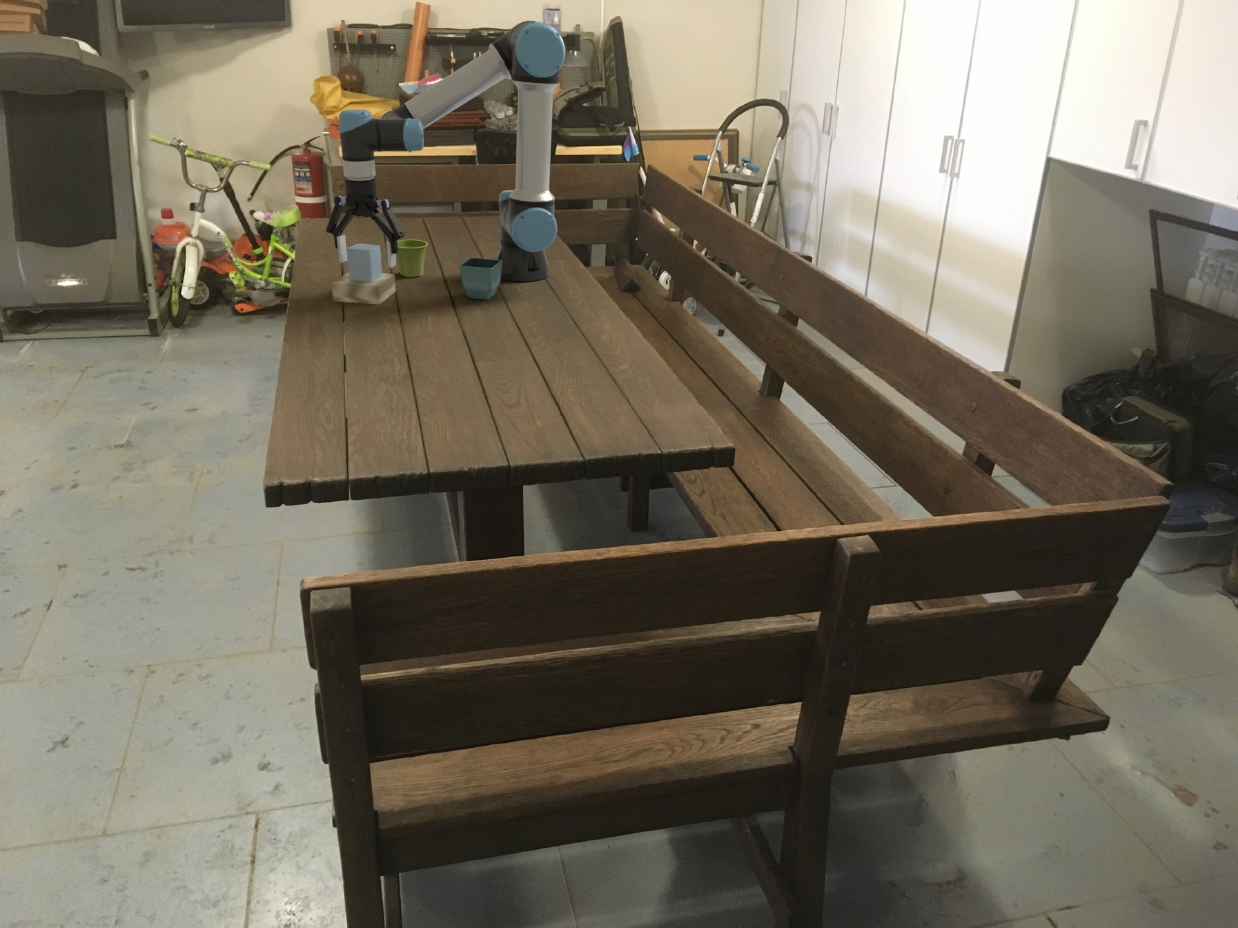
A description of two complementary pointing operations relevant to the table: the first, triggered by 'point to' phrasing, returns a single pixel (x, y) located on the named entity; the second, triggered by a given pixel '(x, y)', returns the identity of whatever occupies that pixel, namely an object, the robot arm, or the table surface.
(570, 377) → the table surface
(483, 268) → the flower pot
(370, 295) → the birch block
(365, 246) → the slate blue block
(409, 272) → the plant pot
